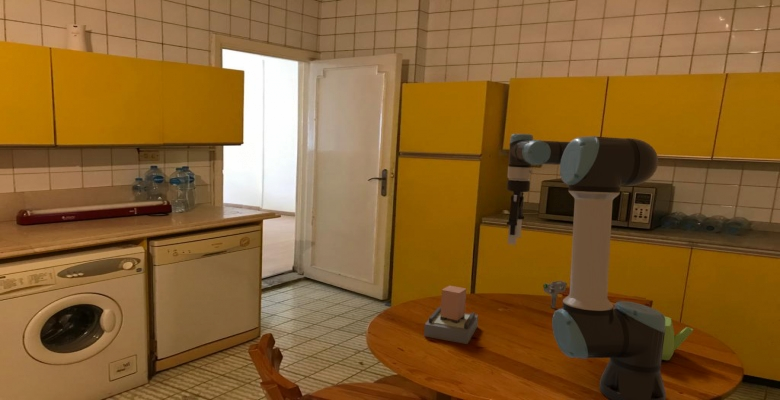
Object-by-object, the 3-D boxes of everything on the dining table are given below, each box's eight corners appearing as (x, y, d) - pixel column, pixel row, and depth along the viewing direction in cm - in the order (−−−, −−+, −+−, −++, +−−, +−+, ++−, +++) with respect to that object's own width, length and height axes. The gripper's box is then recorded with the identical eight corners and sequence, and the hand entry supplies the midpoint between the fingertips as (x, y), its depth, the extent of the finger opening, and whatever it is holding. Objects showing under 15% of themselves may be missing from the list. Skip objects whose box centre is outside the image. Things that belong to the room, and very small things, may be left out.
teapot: (689, 350, 158) (693, 310, 157) (688, 375, 141) (694, 330, 140) (624, 336, 168) (628, 298, 166) (617, 358, 151) (621, 316, 149)
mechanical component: (540, 308, 193) (542, 282, 192) (560, 305, 197) (562, 280, 196) (545, 310, 190) (547, 284, 189) (566, 307, 195) (568, 282, 194)
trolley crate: (447, 314, 170) (449, 285, 168) (464, 318, 167) (466, 288, 165) (440, 319, 165) (441, 289, 163) (457, 323, 162) (459, 293, 160)
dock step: (467, 344, 156) (468, 327, 156) (424, 336, 161) (424, 319, 160) (477, 326, 171) (478, 311, 170) (437, 320, 176) (438, 304, 175)
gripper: (526, 182, 159) (521, 248, 162) (533, 178, 182) (528, 235, 185) (502, 181, 162) (497, 246, 164) (512, 176, 185) (508, 233, 188)
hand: (514, 240), depth 175 cm, fingers open, 13 cm apart
